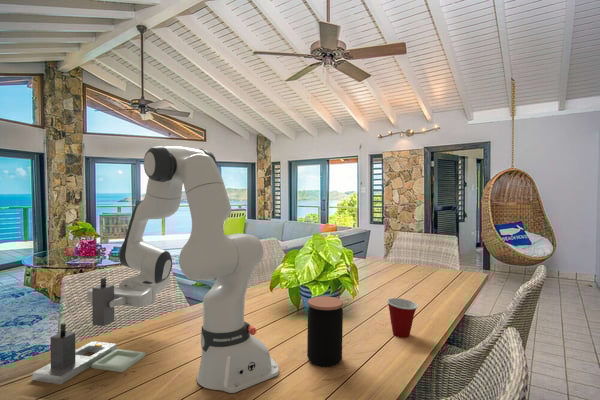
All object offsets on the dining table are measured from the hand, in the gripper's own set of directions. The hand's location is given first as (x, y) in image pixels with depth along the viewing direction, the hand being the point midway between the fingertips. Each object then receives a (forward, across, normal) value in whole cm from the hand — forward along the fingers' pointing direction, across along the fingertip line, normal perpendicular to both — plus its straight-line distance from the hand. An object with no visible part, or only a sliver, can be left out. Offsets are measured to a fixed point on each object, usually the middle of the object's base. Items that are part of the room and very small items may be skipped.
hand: (101, 303), depth 104 cm
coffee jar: (-17, +65, +17) cm, 69 cm away
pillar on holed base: (+4, -4, +17) cm, 18 cm away
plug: (-1, 0, +6) cm, 6 cm away
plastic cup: (-42, +89, +17) cm, 100 cm away
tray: (0, +6, +17) cm, 18 cm away
